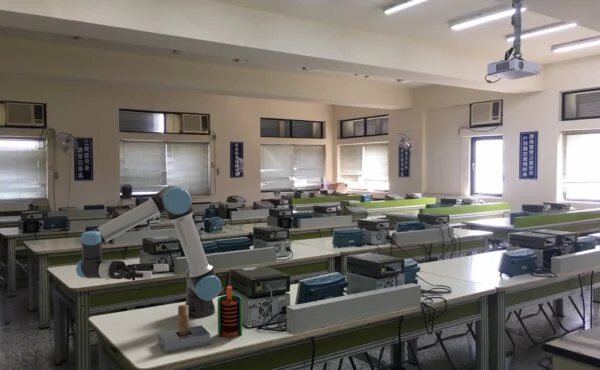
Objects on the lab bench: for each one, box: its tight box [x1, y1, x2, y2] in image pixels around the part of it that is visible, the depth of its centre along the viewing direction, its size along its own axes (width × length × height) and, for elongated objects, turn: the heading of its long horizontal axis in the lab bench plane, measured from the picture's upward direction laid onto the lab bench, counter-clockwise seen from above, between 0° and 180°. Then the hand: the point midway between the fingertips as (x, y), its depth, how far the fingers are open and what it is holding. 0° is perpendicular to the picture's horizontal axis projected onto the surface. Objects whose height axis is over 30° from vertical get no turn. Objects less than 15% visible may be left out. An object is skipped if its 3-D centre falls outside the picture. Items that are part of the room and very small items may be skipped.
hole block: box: [157, 324, 211, 354], centre depth 195 cm, size 18×12×4 cm, turn 117°
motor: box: [217, 285, 243, 339], centre depth 206 cm, size 10×9×20 cm
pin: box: [177, 304, 190, 336], centre depth 195 cm, size 4×4×15 cm
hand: (160, 271), depth 196 cm, fingers open, 13 cm apart
